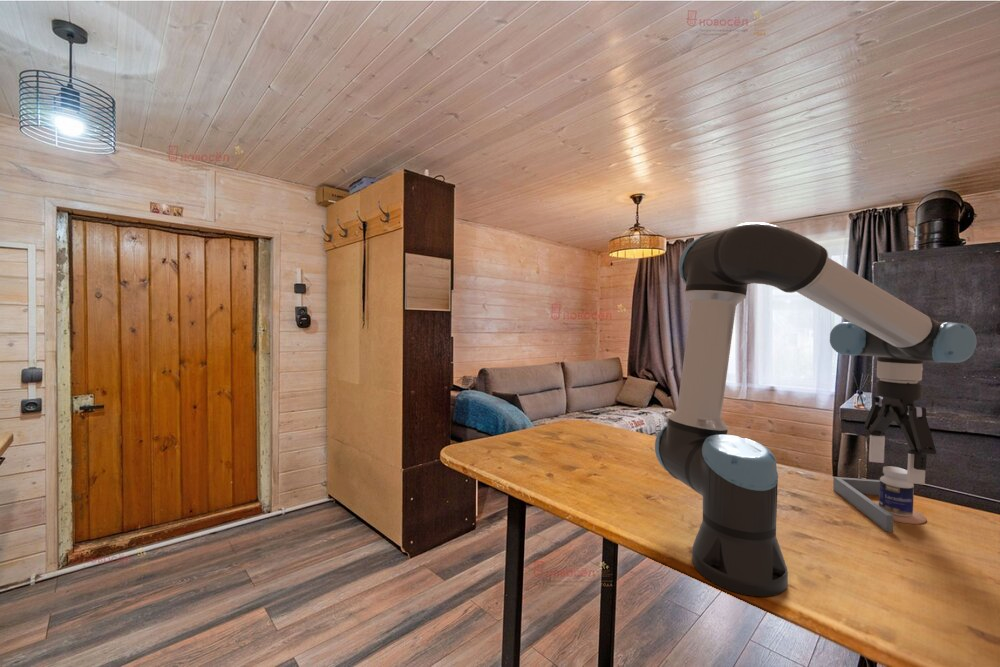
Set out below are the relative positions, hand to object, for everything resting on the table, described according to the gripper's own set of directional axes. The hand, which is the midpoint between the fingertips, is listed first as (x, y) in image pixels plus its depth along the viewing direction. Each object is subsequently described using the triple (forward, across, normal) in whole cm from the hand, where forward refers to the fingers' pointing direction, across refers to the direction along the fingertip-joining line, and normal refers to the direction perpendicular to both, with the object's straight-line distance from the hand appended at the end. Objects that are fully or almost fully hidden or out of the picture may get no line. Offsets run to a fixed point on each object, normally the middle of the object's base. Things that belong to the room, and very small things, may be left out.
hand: (894, 472), depth 95 cm
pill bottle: (+10, 0, -1) cm, 10 cm away
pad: (+10, 0, -1) cm, 10 cm away
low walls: (+10, +1, +1) cm, 10 cm away
